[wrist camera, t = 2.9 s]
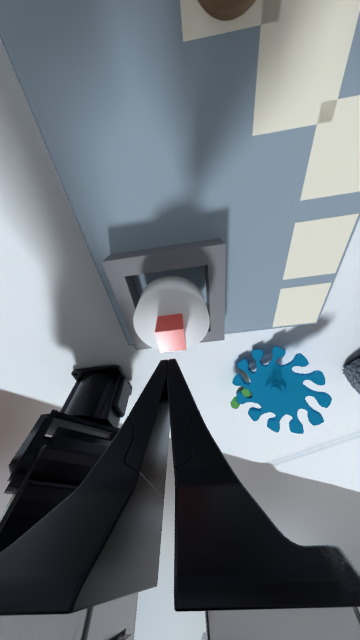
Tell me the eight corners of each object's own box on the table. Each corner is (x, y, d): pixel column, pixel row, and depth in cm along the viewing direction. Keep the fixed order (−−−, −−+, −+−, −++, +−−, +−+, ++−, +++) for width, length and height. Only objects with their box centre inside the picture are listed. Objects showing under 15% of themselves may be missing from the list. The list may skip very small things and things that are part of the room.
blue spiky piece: (299, 334, 18) (356, 430, 16) (295, 330, 24) (338, 403, 21) (211, 366, 24) (246, 443, 21) (224, 358, 29) (253, 419, 26)
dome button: (148, 335, 17) (140, 372, 13) (131, 280, 13) (114, 310, 10) (206, 328, 16) (215, 365, 13) (203, 270, 13) (213, 297, 9)
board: (130, 340, 21) (124, 358, 18) (-47, -102, 7) (-157, -252, 5) (312, 319, 19) (330, 335, 17) (535, -274, 6) (778, -594, 3)
